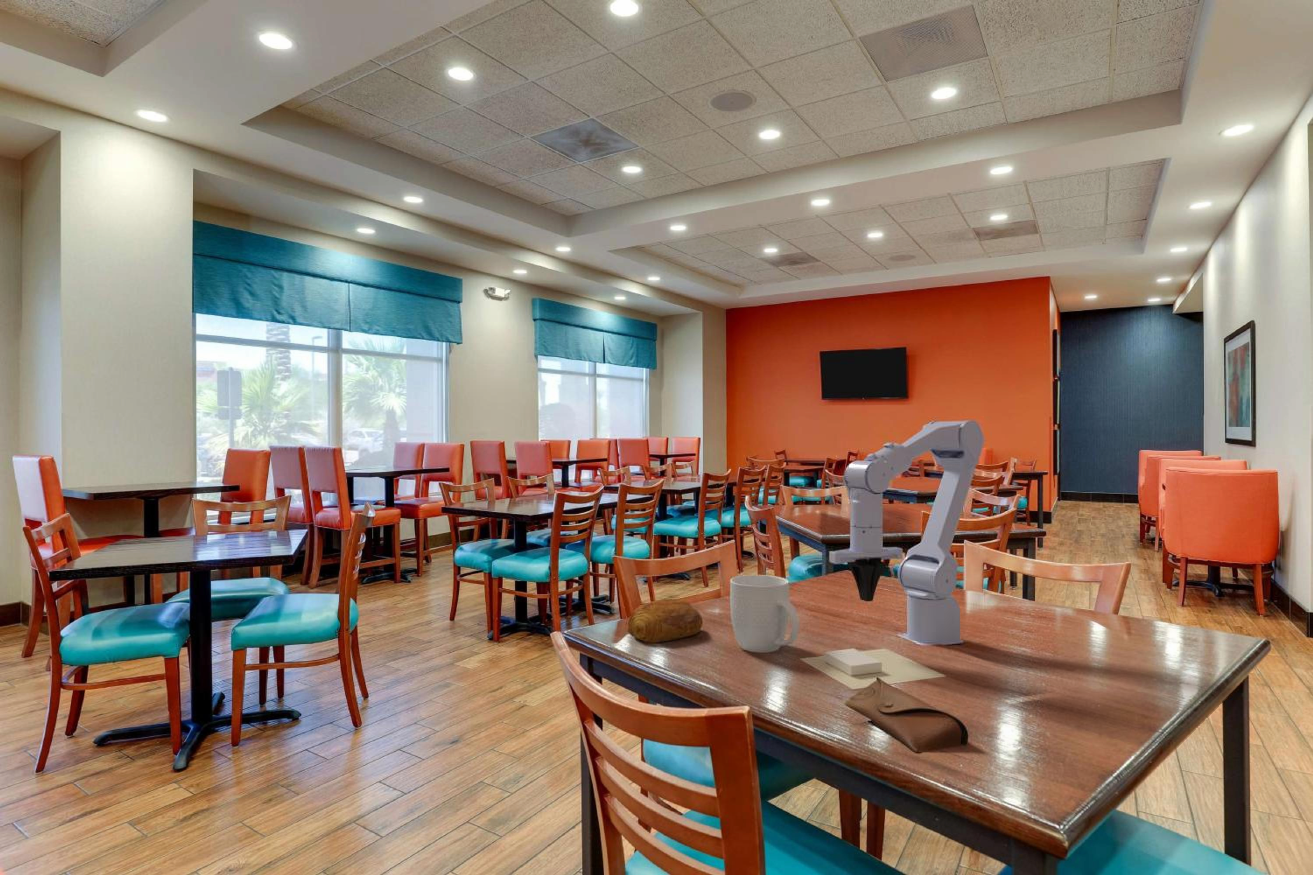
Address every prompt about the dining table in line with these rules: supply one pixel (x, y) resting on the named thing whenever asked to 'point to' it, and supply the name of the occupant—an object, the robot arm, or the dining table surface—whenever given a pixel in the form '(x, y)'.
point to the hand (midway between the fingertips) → (866, 600)
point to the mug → (762, 612)
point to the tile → (852, 662)
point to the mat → (892, 672)
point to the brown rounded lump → (664, 621)
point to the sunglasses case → (908, 718)
